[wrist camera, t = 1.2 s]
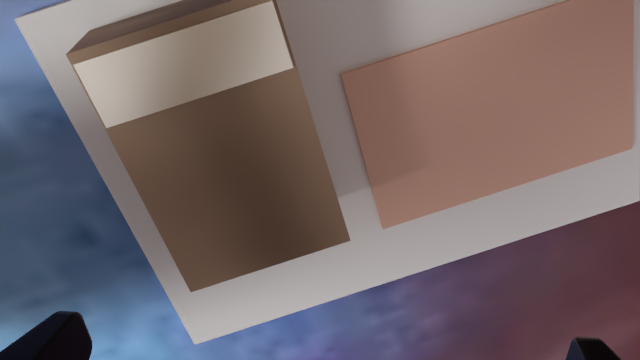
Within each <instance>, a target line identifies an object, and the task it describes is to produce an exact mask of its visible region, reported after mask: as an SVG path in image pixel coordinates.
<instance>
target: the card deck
mask: <svg viewBox="0 0 640 360" xmlns="http://www.w3.org/2000/svg"><path fill="white" fill-rule="evenodd" d="M66 56H67V58H68V60H69V62H70V64H71V65H72V67H73V69H74V71H75V73H76V75H77V77H78V79H79V81H80V83H81V84H82V86H83V88H84V90H85V92H86V94H87V96H88V98H89V100H90V102H91V104H92V105H93V107H94V109H95V111H96V113H97V115H98V117H99V119H100V121H101V123H102V125H103V126H104V128H105V130H106V132H107V134H108V136H109V138H110V140H111V142H112V144H113V145H114V147H115V149H116V151H117V153H118V155H119V157H120V159H121V161H122V163H123V165H124V166H125V168H126V170H127V172H128V174H129V176H130V178H131V180H132V182H133V184H134V185H135V187H136V189H137V191H138V193H139V195H140V197H141V199H142V201H143V203H144V205H145V206H146V208H147V210H148V212H149V214H150V216H151V218H152V220H153V222H154V224H155V225H156V227H157V229H158V231H159V233H160V235H161V237H162V239H163V241H164V243H165V245H166V246H167V248H168V250H169V252H170V254H171V256H172V258H173V260H174V262H175V264H176V266H177V267H178V269H179V271H180V273H181V275H182V277H183V279H184V281H185V283H186V285H187V286H188V288H189V290H190V292H194V291H197V290H200V289H203V288H206V287H209V286H212V285H215V284H218V283H221V282H225V281H228V280H231V279H234V278H237V277H240V276H243V275H246V274H249V273H252V272H255V271H259V270H262V269H265V268H268V267H271V266H274V265H277V264H280V263H283V262H286V261H289V260H293V259H296V258H299V257H302V256H305V255H308V254H311V253H314V252H317V251H320V250H323V249H326V248H330V247H333V246H336V245H339V244H342V243H345V242H348V241H351V240H350V237H349V234H348V230H347V227H346V224H345V221H344V218H343V214H342V211H341V208H340V205H339V201H338V198H337V195H336V192H335V189H334V185H333V182H332V179H331V176H330V172H329V169H328V166H327V163H326V160H325V156H324V153H323V150H322V147H321V143H320V140H319V137H318V134H317V131H316V127H315V124H314V121H313V118H312V115H311V111H310V108H309V105H308V102H307V98H306V95H305V92H304V89H303V86H302V82H301V79H300V76H299V73H298V69H297V66H296V63H295V60H294V57H293V53H292V50H291V47H290V44H289V40H288V37H287V34H286V31H285V28H284V24H283V21H282V18H281V15H280V12H279V8H278V5H277V2H276V0H182V1H179V2H175V3H172V4H169V5H166V6H163V7H160V8H157V9H154V10H151V11H148V12H145V13H141V14H138V15H135V16H132V17H129V18H126V19H123V20H120V21H117V22H114V23H111V24H107V25H104V26H101V27H98V28H95V29H92V30H89V31H88V32H87V33H86V34H85V35H84V36H83V37H82V38H81V39H80V40H79V41H78V42H77V43H76V45H75V46H74V47H73V48H72V49H71V50H70V51H69V52H68V53H67V54H66Z"/></svg>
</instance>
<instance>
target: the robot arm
mask: <svg viewBox="0 0 640 360" xmlns="http://www.w3.org/2000/svg"><path fill="white" fill-rule="evenodd" d="M91 351H92V340H91V337H90V335H89V332H88V330H87V327H86V325H85V322H84V320H83V317H82V315H81V314H79V313H78V312H70V311H59V312H56V313H54V314H52V315H51V316H50V317H48V318H47V319H45V320H44V321H43V322H41V323H40V324H38V325H37V326H36V327H34V328H33V329H32V330H30V331H29V332H27V333H26V334H25V335H23V336H22V337H20V338H19V339H18V340H16V341H15V342H13V343H12V344H11V345H9V346H8V347H6V348H5V349H4V350H2V351H1V352H0V360H89V358H90V355H91ZM566 360H621V359H620V358H619V357H618V356H617V355H616V354H615V353H614V352H613V351H612V350H611V349H610V348H609V347H608V346H607V345H606V344H605V343H604V342H603V341H602V340H600V339H598V338H594V337H575V338H574V339H573V340H572V342H571V344H570V348H569V351H568V354H567V357H566Z"/></svg>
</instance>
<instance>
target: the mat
mask: <svg viewBox="0 0 640 360" xmlns="http://www.w3.org/2000/svg"><path fill="white" fill-rule="evenodd" d="M179 1H182V0H68V1H65V2H61V3H58V4H55V5H52V6H49V7H46V8H43V9H40V10H37V11H34V12H31V13H27V14H24V15H21V16H19V17H17V18H15V19H14V20H15V22H16V23H17V25H18V27H19V29H20V31H21V32H22V34H23V36H24V38H25V40H26V41H27V43H28V45H29V47H30V49H31V50H32V52H33V54H34V56H35V58H36V59H37V61H38V63H39V65H40V67H41V68H42V70H43V72H44V74H45V76H46V77H47V79H48V81H49V83H50V85H51V87H52V88H53V90H54V92H55V94H56V96H57V97H58V99H59V101H60V103H61V105H62V106H63V108H64V110H65V112H66V114H67V115H68V117H69V119H70V121H71V123H72V124H73V126H74V128H75V130H76V132H77V133H78V135H79V137H80V139H81V141H82V142H83V144H84V146H85V148H86V150H87V151H88V153H89V155H90V157H91V159H92V160H93V162H94V164H95V166H96V168H97V169H98V171H99V173H100V175H101V177H102V178H103V180H104V182H105V184H106V186H107V187H108V189H109V191H110V193H111V195H112V196H113V198H114V200H115V202H116V204H117V205H118V207H119V209H120V211H121V213H122V214H123V216H124V218H125V220H126V222H127V223H128V225H129V227H130V229H131V231H132V232H133V234H134V236H135V238H136V240H137V241H138V243H139V245H140V247H141V249H142V250H143V252H144V254H145V256H146V258H147V259H148V261H149V263H150V265H151V267H152V268H153V270H154V272H155V274H156V276H157V277H158V279H159V281H160V283H161V285H162V287H163V288H164V290H165V292H166V294H167V296H168V297H169V299H170V301H171V303H172V305H173V306H174V308H175V310H176V312H177V314H178V315H179V317H180V319H181V321H182V323H183V324H184V326H185V328H186V330H187V332H188V333H189V335H190V337H191V339H192V341H193V342H194V344H195V345H196V344H199V343H202V342H205V341H208V340H211V339H214V338H217V337H220V336H223V335H227V334H230V333H233V332H236V331H239V330H242V329H245V328H248V327H251V326H254V325H257V324H261V323H264V322H267V321H270V320H273V319H276V318H279V317H282V316H285V315H288V314H291V313H294V312H298V311H301V310H304V309H307V308H310V307H313V306H316V305H319V304H322V303H325V302H328V301H332V300H335V299H338V298H341V297H344V296H347V295H350V294H353V293H356V292H359V291H362V290H366V289H369V288H372V287H375V286H378V285H381V284H384V283H387V282H390V281H393V280H396V279H399V278H403V277H406V276H409V275H412V274H415V273H418V272H421V271H424V270H427V269H430V268H433V267H437V266H440V265H443V264H446V263H449V262H452V261H455V260H458V259H461V258H464V257H467V256H471V255H474V254H477V253H480V252H483V251H486V250H489V249H492V248H495V247H498V246H501V245H504V244H508V243H511V242H514V241H517V240H520V239H523V238H526V237H529V236H532V235H535V234H538V233H542V232H545V231H548V230H551V229H554V228H557V227H560V226H563V225H566V224H569V223H572V222H576V221H579V220H582V219H585V218H588V217H591V216H594V215H597V214H600V213H603V212H606V211H609V210H613V209H616V208H619V207H622V206H625V205H628V204H631V203H634V202H637V201H639V200H640V0H276V2H277V5H278V8H279V12H280V15H281V18H282V21H283V24H284V28H285V31H286V34H287V37H288V40H289V44H290V47H291V50H292V53H293V57H294V60H295V63H296V66H297V69H298V73H299V76H300V79H301V82H302V86H303V89H304V92H305V95H306V98H307V102H308V105H309V108H310V111H311V115H312V118H313V121H314V124H315V127H316V131H317V134H318V137H319V140H320V143H321V147H322V150H323V153H324V156H325V160H326V163H327V166H328V169H329V172H330V176H331V179H332V182H333V185H334V189H335V192H336V195H337V198H338V201H339V205H340V208H341V211H342V214H343V218H344V221H345V224H346V227H347V230H348V234H349V237H350V240H351V241H348V242H345V243H342V244H339V245H336V246H333V247H330V248H326V249H323V250H320V251H317V252H314V253H311V254H308V255H305V256H302V257H299V258H296V259H293V260H289V261H286V262H283V263H280V264H277V265H274V266H271V267H268V268H265V269H262V270H259V271H255V272H252V273H249V274H246V275H243V276H240V277H237V278H234V279H231V280H228V281H225V282H221V283H218V284H215V285H212V286H209V287H206V288H203V289H200V290H197V291H194V292H190V290H189V288H188V286H187V285H186V283H185V281H184V279H183V277H182V275H181V273H180V271H179V269H178V267H177V266H176V264H175V262H174V260H173V258H172V256H171V254H170V252H169V250H168V248H167V246H166V245H165V243H164V241H163V239H162V237H161V235H160V233H159V231H158V229H157V227H156V225H155V224H154V222H153V220H152V218H151V216H150V214H149V212H148V210H147V208H146V206H145V205H144V203H143V201H142V199H141V197H140V195H139V193H138V191H137V189H136V187H135V185H134V184H133V182H132V180H131V178H130V176H129V174H128V172H127V170H126V168H125V166H124V165H123V163H122V161H121V159H120V157H119V155H118V153H117V151H116V149H115V147H114V145H113V144H112V142H111V140H110V138H109V136H108V134H107V132H106V130H105V128H104V126H103V125H102V123H101V121H100V119H99V117H98V115H97V113H96V111H95V109H94V107H93V105H92V104H91V102H90V100H89V98H88V96H87V94H86V92H85V90H84V88H83V86H82V84H81V83H80V81H79V79H78V77H77V75H76V73H75V71H74V69H73V67H72V65H71V64H70V62H69V60H68V58H67V56H66V54H67V53H68V52H69V51H70V50H71V49H72V48H73V47H74V46H75V45H76V43H77V42H78V41H79V40H80V39H81V38H82V37H83V36H84V35H85V34H86V33H87V32H88V31H89V30H92V29H95V28H98V27H101V26H104V25H107V24H111V23H114V22H117V21H120V20H123V19H126V18H129V17H132V16H135V15H138V14H141V13H145V12H148V11H151V10H154V9H157V8H160V7H163V6H166V5H169V4H172V3H175V2H179Z"/></svg>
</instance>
